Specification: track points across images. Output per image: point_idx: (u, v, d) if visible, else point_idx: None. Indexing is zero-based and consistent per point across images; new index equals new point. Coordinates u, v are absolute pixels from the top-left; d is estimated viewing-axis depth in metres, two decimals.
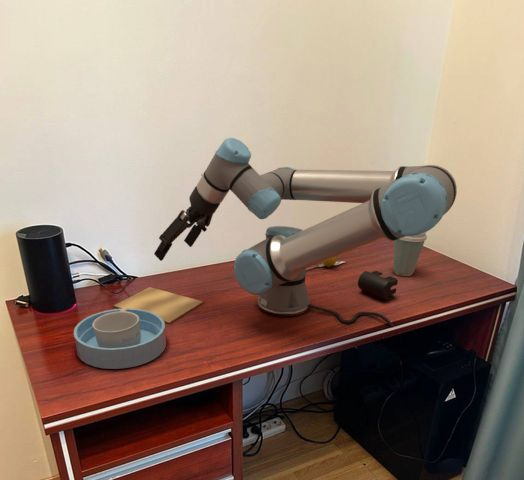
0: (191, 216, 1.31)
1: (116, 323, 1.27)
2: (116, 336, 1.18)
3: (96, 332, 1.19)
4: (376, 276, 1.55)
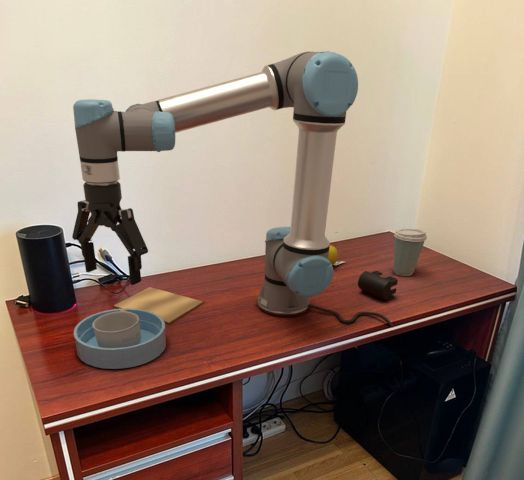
0: None
1: (116, 323, 1.27)
2: (116, 336, 1.18)
3: (96, 332, 1.19)
4: (376, 276, 1.55)
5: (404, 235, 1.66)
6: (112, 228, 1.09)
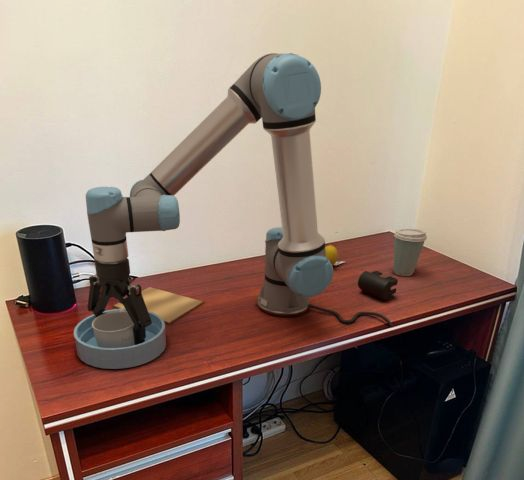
0: None
1: (115, 323, 1.27)
2: (115, 336, 1.18)
3: (95, 332, 1.19)
4: (376, 276, 1.55)
5: (404, 235, 1.66)
6: (120, 301, 1.18)
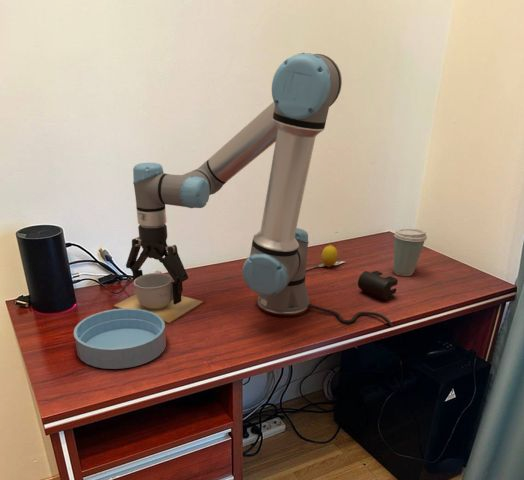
0: None
1: (152, 284, 1.49)
2: (154, 292, 1.40)
3: (137, 289, 1.41)
4: (376, 276, 1.55)
5: (404, 235, 1.66)
6: (160, 260, 1.39)
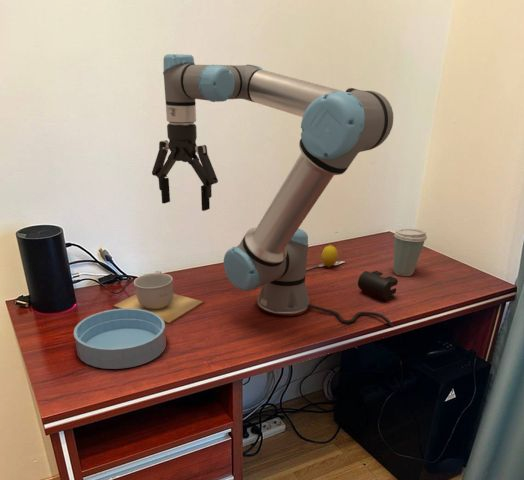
0: None
1: (152, 284, 1.49)
2: (154, 292, 1.40)
3: (137, 289, 1.41)
4: (376, 276, 1.55)
5: (404, 235, 1.66)
6: (189, 162, 1.34)
